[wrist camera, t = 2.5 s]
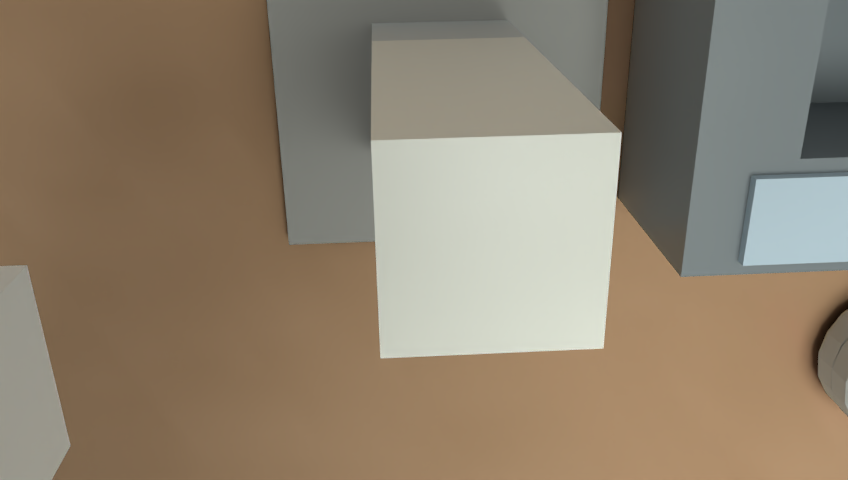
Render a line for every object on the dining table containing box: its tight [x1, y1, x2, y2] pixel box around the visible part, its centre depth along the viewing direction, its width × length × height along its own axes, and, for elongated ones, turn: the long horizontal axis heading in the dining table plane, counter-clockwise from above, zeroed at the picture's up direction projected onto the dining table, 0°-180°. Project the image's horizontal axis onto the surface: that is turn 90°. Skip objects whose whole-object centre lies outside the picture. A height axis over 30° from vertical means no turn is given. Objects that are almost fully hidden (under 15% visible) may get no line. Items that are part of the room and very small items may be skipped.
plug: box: [371, 20, 622, 358], centre depth 19 cm, size 4×4×12 cm
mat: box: [267, 0, 608, 245], centre depth 25 cm, size 10×10×1 cm
